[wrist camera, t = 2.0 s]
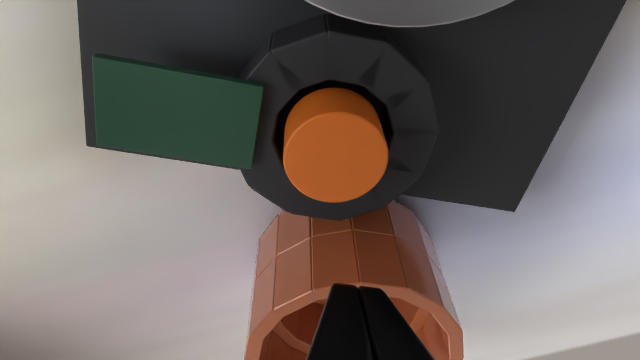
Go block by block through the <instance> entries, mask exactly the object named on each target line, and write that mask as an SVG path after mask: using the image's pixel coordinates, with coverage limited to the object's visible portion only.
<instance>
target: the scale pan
mask: <svg viewBox="0 0 640 360" xmlns="http://www.w3.org/2000/svg"><path fill="white" fill-rule="evenodd" d="M305 1H306V2H308V3H310V4H312V5H314V6H316V7H318V8H321V9H323V10H325V11H328V12H330V13H332V14H335V15H337V16H340V17H343V18H347V19H350V20H354V21H358V22H361V23H365V24H372V25H379V26H387V27H428V26H435V25H443V24H450V23H454V22H458V21H461V20H465V19H469V18H473V17H476V16H480V15H482V14H485V13H487V12H490V11H492V10H495V9H497V8H500V7H502V6H505V5H507V4H509V3H511V2H513V1H514V0H305ZM92 65H93V84H94V103H95V123H96V142H97V145H98V146H104V147H110V148H117V149H123V150H130V151H136V152H143V153H149V154H156V155H162V156H169V157H175V158H182V159H188V160H195V161H201V162H208V163H214V164H221V165H227V166H234V167H240V168H246V169H252V164H253V158H254V151H255V145H256V138H257V131H258V125H259V118H260V111H261V105H262V98H263V92H264V85H265V84H264V83H262V82H256V81H251V80H245V79H240V78H234V77H229V76H223V75H217V74H212V73H206V72H201V71H195V70H190V69H184V68H178V67H173V66H167V65H162V64H156V63H151V62H145V61H139V60H134V59H128V58H123V57H117V56H112V55H106V54H100V53H96V54H95V55H93V56H92Z"/></svg>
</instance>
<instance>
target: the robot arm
mask: <svg viewBox="0 0 640 360" xmlns="http://www.w3.org/2000/svg"><path fill="white" fill-rule="evenodd" d="M306 360H435V359H434V358H433V356H432V355H431V354H430V352H429V351H428V350H427V348H426V347H425V346H424V344H423V343H422V341H421V340H420V339H419V337H418V336H417V335H416V333H415V332H414V331H413V329H412V328H411V327H410V325H409V324H408V323H407V321H406V320H405V319H404V317H403V316H402V315H401V313H400V312H399V310H398V309H397V308H396V306H395V305H394V304H393V302H392V301H391V300H390V298H389V297H388V296H387V294H386V293H385V292H384V291H383V290H382V289H380V288H375V287H367V286H359V287H356V286H355V285H351V284H343V283H333V284H332V286H331V289H330V291H329V294H328V297H327V300H326V303H325V306H324V309H323V312H322V315H321V318H320V320H319V323H318V326H317V329H316V332H315V335H314V338H313V341H312V344H311V346H310V349H309V352H308V355H307V358H306Z"/></svg>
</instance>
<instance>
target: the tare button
mask: <svg viewBox="0 0 640 360" xmlns="http://www.w3.org/2000/svg"><path fill="white" fill-rule="evenodd" d="M387 163H388V147H387V143H386V139H385V136H384V133H383V129H382V126H381V123H380V120H379V117H378V114H377V112H376V110H375V108H374V107H373V106H372V104H371V103H370V102H369V101H368V100H367V99H366V98H364V97H363V96H362V95H360V94H358V93H356V92H354V91H351V90H348V89H344V88H324V89H320V90H317V91H314V92H312V93H310V94H308V95H306V96H305V97H303V98H302V99H301V100H299V101H298V102H297V103H296V104H295V106H294V107H293V108H292V110H291V111H290V113H289V115H288V117H287V120H286V124H285V134H284V150H283V164H284V169H285V172H286V174H287V176H288V178H289V180H290V181H291V183H292V184H293V185H294V186H295V187H296V188H297V189H298V190H299V191H300V192H302V193H303V194H305V195H306V196H308V197H310V198H313V199H316V200H319V201H323V202H345V201H349V200H353V199H356V198H358V197H360V196H362V195H364V194H365V193H367V192H369V191H370V190H371V189H372V188H373V187H374V186H375V185H376V184H377V183H378V182H379V181H380V179H381V178H382V176H383V174H384V172H385V170H386V167H387Z"/></svg>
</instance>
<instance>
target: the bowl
mask: <svg viewBox="0 0 640 360" xmlns="http://www.w3.org/2000/svg"><path fill="white" fill-rule="evenodd" d="M333 283H343V284H351V285H355V286H356V287H359V286H367V287H375V288H380V289H382V290H383V291H384V292H385V293H386V294H387V296H388V297H389V298H390V300H391V301H392V302H393V304H394V305H395V306H396V308H397V309H398V310H399V312H400V313H401V315H402V316H403V317H404V319H405V320H406V321H407V323H408V324H409V325H410V327H411V328H412V329H413V331H414V332H415V333H416V335H417V336H418V337H419V339H420V340H421V341H422V343H423V344H424V346H425V347H426V348H427V350H428V351H429V352H430V354H431V355H432V356H433V358H434V359H435V360H463V357H464V356H463V332H462V329H461V326H460V323H459V320H458V317H457V314H456V311H455V308H454V305H453V302H452V300H451V297H450V294H449V291H448V288H447V285H446V282H445V279H444V277H443V274H442V271H441V268H440V265H439V262H438V259H437V257H436V254H435V251H434V248H433V245H432V242H431V239H430V236H429V234H428V232H427V231H426V229H425V228H424V227H423V225H422V224H421V222H420V221H419V219H418V218H417V216H416V215H415V214H414V213H413V211H412V210H410V209H408V208H406V207H405V206H403V205H401V204H399V203H398V202H396V201H394V200H393V201H392V202H391V203H390V204H388V205H387V206H385V207H384V208H383V209H379V210H376V211H372V212H369V213H365V214H361V215H358V216H354V217H351V218H347V219H344V220H340V221H338V220H329V219H322V218H315V217H308V216H301V215H294V214H290V212H289V213H288V212H286V211H282V212H281V213H280V214H279V215H277V217H276V218H275V219H274V220H273V222H272V223H271V224H270V226H269V227H268V228H267V229H266V231H265V232H264V233H263V235H262V236H261V238H260V239H259V245H258V250H257V256H256V262H255V269H254V278H253V287H252V296H251V304H250V313H249V322H248V330H247V339H246V348H245V356H244V360H306V358H307V355H308V352H309V349H310V346H311V344H312V341H313V338H314V335H315V332H316V329H317V326H318V323H319V320H320V318H321V315H322V312H323V309H324V306H325V303H326V300H327V297H328V294H329V291H330V289H331V286H332V284H333Z"/></svg>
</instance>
